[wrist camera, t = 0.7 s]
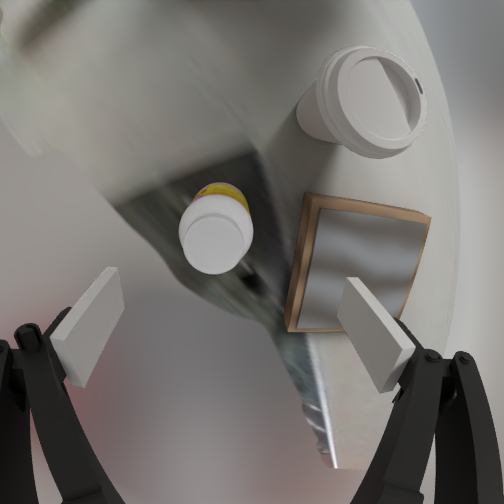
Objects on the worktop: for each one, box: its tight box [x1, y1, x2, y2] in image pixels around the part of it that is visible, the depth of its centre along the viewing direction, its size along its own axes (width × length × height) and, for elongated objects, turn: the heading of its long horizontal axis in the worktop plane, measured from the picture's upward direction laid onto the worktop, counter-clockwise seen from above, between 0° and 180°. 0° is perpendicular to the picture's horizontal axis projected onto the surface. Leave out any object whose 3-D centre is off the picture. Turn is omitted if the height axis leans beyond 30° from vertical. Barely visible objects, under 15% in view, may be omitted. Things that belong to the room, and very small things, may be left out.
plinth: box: [283, 193, 432, 332], centre depth 35 cm, size 18×18×4 cm
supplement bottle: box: [179, 183, 253, 274], centre depth 27 cm, size 7×7×13 cm
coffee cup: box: [296, 45, 427, 159], centre depth 22 cm, size 10×10×15 cm
